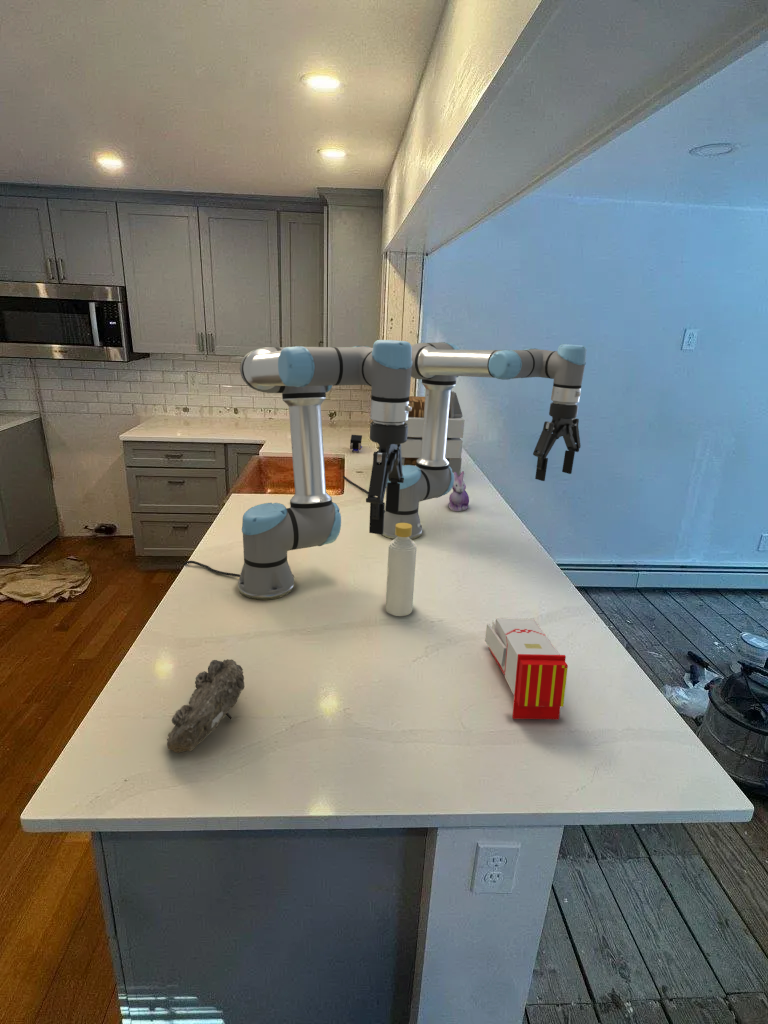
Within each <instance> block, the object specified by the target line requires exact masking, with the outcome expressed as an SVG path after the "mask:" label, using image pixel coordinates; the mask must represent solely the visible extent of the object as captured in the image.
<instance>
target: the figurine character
mask: <svg viewBox="0 0 768 1024" xmlns="http://www.w3.org/2000/svg"><path fill="white" fill-rule="evenodd" d="M362 439H363V435H361V434H351V436H350V442H349V450H351V453H354V452H357V453H359V452H360V451H361V450H362V448H363V446H362Z"/></svg>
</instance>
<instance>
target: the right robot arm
mask: <svg viewBox="0 0 768 1024" xmlns="http://www.w3.org/2000/svg"><path fill="white" fill-rule="evenodd" d="M411 347H412V370H411V378H413V379H416V380H421V385H423V387H424V388H425V393H424V397H425V406H424V421H423V436H422V450H421V457H420V458H418V459H417V461H416V466H413V465H402V473H403V476H402V478H404V482H403V483H399V482H398V483H399V484H400V493H399V512H398V513H396V512H388V511H386V503H385V507H384V529H383V534H382V535H381V536H382V537H385V538H387V539H389V540H393V539H395V538H396V537H397V535H395V527H396V524H398V523H408V524H411V525H412V535H411V536H409V538H410V539H411V540H415V539H418V538H420V537H421V536H422V535H423V525H422V524H421V518H420V515H419V507H420V506H419V505H420V502H423V501H427V500H431V499H437V498H440V497H443V496H446V495H448V493H450V492H451V490H453V489H452V487H453V484H454V473H452V469H451V467H450V466H449V462H448V461H447V459H446V458H445V454H446V442H447V430H448V418H449V406H450V394H451V391H452V389H453V388H455V386H456V385H457V378H458V377H470V378H471V377H473V378H488V379H489V378H493V379H497V380H507V381H509V380H513V379H528V378H542V379H543V378H544V379H551V380H553V382H552V383H553V384H552V389H551V396H550V401H551V403H550V404H549V412H548V415H549V416H550V417H551V421H548V420H545V421H544V423H543V428H542V431H541V433H540V435H539V438H538V439H537V440H538V441H537V442H536V445H535V448H534V450H533V452H532V455H533V456H534V457H536V458H537V461H536V470H535V478H534V479H535V480H538V481H541V482H545V481H546V476H547V468H548V463H549V461H548V460H549V458H548V457H547V456H548V455H549V453H550V451H551V450H552V448H553V446H554V444H555V443H556V442H557V440H559V439H560V438H563V441H564V444H565V446H566V450H565V451H564V456H563V463H562V468H561V469H562V470H561V471H562V473H565V474H569V475H571V474H572V472H573V466H574V461H575V460H574V459H575V454H576V453H579V452H580V449H581V438H580V429H579V424H580V420H579V418H577V417H578V412H579V404H578V403H580V397H581V396H582V392H581V391H582V384H583V379H584V372H585V369H586V364H587V347H586V346H584V345H579V344H568V343H567V344H566V343H565V344H564V343H563V344H560V345H558V348H557V350H549V349H540V348H524V349H461V348H460V347H459V346H458V345H457V344H455V343H451V342H445V341H444V342H442V341H441V342H440V341H439V342H438V341H437V342H417V343H415V344H411ZM342 478H343V479H344V480H346V481H347V482H348V483H349V484H350V485H352V486H354V487H355V488H358V489H359V490H361V491H363V492H365V494H367V495H368V492H369V490H366V489H365V488H363V487H361V486H360V485H358V484H356V483H354V482H353V481H351V480H350V479H349V478H347V477H346V475H343V476H342ZM388 482H390V481H389V479H388V481H387V483H388ZM390 483H391V482H390ZM374 497H376V496H374ZM386 498H387V486H386V490H385V499H386Z"/></svg>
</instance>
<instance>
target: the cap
mask: <svg viewBox="0 0 768 1024" xmlns="http://www.w3.org/2000/svg"><path fill="white" fill-rule="evenodd" d="M395 535H397V536H399V537H409V536H411V535H412V525H411V524H408V523H398V524H396V527H395Z"/></svg>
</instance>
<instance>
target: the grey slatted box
mask: <svg viewBox="0 0 768 1024" xmlns="http://www.w3.org/2000/svg"><path fill="white" fill-rule="evenodd" d="M408 406H411V408H412V410H411V411H408V420H407V421H406V422H405V423H407V425H408V434H407V441H406V442H405V443H402V444H401V457H402V465H404V466H405V465H413V466H416V461H417V459H418V458H420V457H421V450H422V436H423V421H424V406H425V396H415V395H414V396H413V395H412V396H411V395H410V397H409V404H408ZM464 429H465V419H464V418H463V411H462V408H461V405H460V402H459V398H458V395H457V392H455V391H453V390H451V394H450V406H449V418H448V430H447V442H446V454H445V458H446V459H447V461H448V462H449V466H450V467H451V469H452V473H454V472H456V473H457V475H458V476H459V475H460V474H461V472H462V461H463V460H462V453H463V442H464V441H463V440H462V439H463V438H464V431H465V430H464Z"/></svg>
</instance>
